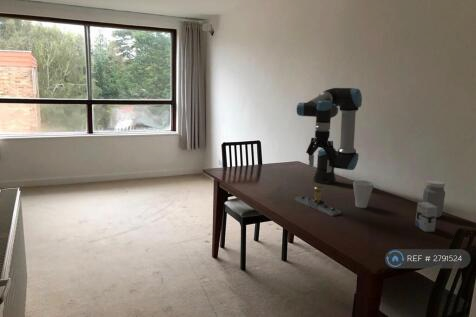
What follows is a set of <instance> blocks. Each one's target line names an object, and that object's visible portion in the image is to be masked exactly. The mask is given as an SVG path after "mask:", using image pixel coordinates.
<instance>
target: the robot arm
mask: <svg viewBox="0 0 476 317" xmlns="http://www.w3.org/2000/svg"><path fill="white" fill-rule="evenodd" d="M362 96H363V95H362V92H361V90H360V89H359V88H355V87H354V88H353V87H332V88H329V89H326V90H324V91H322V92H320V93H319V94H318V95H317V96H316V97H314V98H313V99H310V100H309V101H307V102H299V103H298V104H297V105H296V114H297V116H300V117H313V118H314V117H315V131H314V137H311V139H310V143H309V145H308V147H307V149H306V151H305V153H306V154H307V155H308V161H309V162H308V167H309V168H314V166H315V165H314V162H315V152H317V150H318V153H317V163H316V171H315V174H314V176H313V182H315V183H318V184H324V185H332V184H335V183H337V182H336V181H337V178H336V174H335V169H338V170H339V169H341V170H346V171H354V170H355V169H356V167H357V164H358V161H359V153H357V150H356V149H355V147H354V146H355V131H356V115H357V114H356V113H357V112H358V110H359V108H361V106H362V104H363V103H362V101H363V97H362ZM339 111H340V112H341V119H340V120H341V122H340V123H341V124H340V146H339V148H338V149H336V148H334V141H333V140H329V139H330V134H331V133H330V132H331V120H332V118H334V117H336V116H337V115H338V113H339ZM319 148H320V149H319Z"/></svg>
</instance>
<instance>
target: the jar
mask: <svg viewBox="0 0 476 317" xmlns="http://www.w3.org/2000/svg"><path fill="white" fill-rule="evenodd" d="M445 185H446V182H444V181H441V180H437V179H436V180H435V179H427V180H426V182H425V188H424V189H423V194H422V201H421V202H428V203H430V204H432V205H434V206H436V207H437V208H438V209H437V216H436V219H437V218H440V217H441V216H443V210H444V204H445V198H446V192H445Z"/></svg>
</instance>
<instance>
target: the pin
mask: <svg viewBox="0 0 476 317" xmlns="http://www.w3.org/2000/svg"><path fill="white" fill-rule="evenodd" d="M313 190H314V199H313V200H314V202H317V203H318V205H320V199H321V194H322V191H323V187H322V186H318V185H317V186H316V185H315V186H313Z"/></svg>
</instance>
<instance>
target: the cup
mask: <svg viewBox="0 0 476 317" xmlns="http://www.w3.org/2000/svg"><path fill="white" fill-rule="evenodd" d="M374 186H375V184H374V182H372V181H370V180H369V181H368V180H354V181H353V184H352V187H353V194H354V199H355V200H354V202H355V203H354V204H355V207H357V208H360V209H366V208H368V203H369V200H370V198H371V195H372V192H373V189H374Z"/></svg>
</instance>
